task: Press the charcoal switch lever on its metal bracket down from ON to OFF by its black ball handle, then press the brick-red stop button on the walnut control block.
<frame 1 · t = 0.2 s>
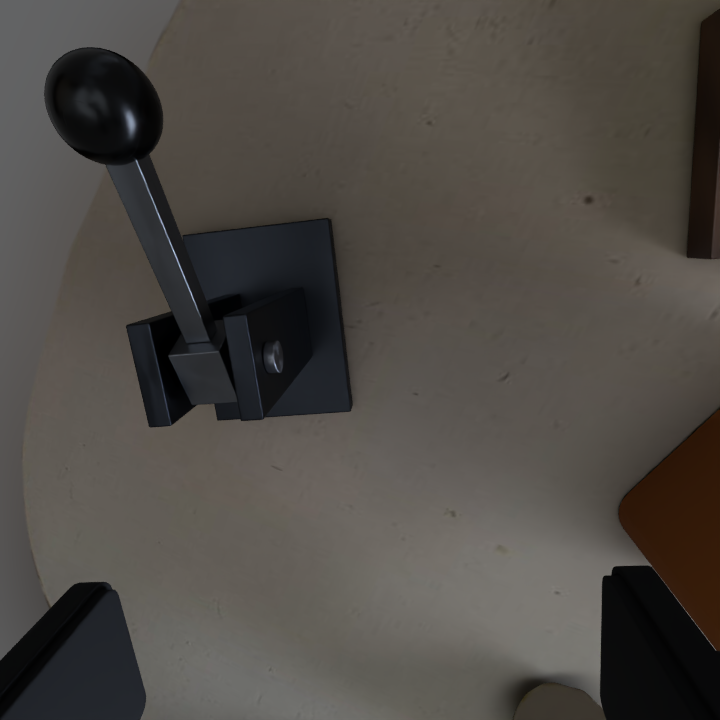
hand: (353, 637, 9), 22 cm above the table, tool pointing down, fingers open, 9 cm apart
switch lever: (168, 255, 17), point 12 cm above the table, hinge at 24.0°
switch bracket: (274, 323, 30), on the table
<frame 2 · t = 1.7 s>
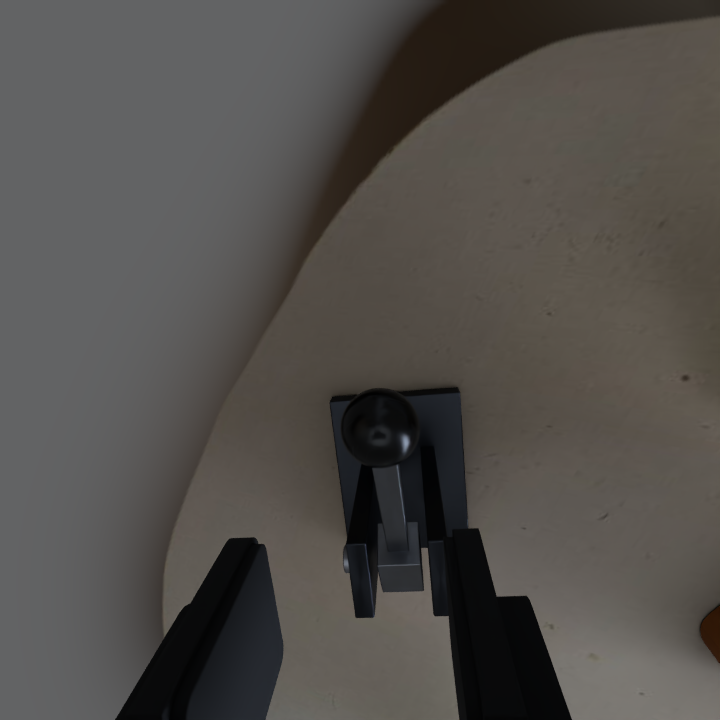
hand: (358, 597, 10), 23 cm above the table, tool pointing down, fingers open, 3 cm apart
switch lever: (391, 500, 22), point 12 cm above the table, hinge at 24.0°
switch bracket: (401, 468, 34), on the table
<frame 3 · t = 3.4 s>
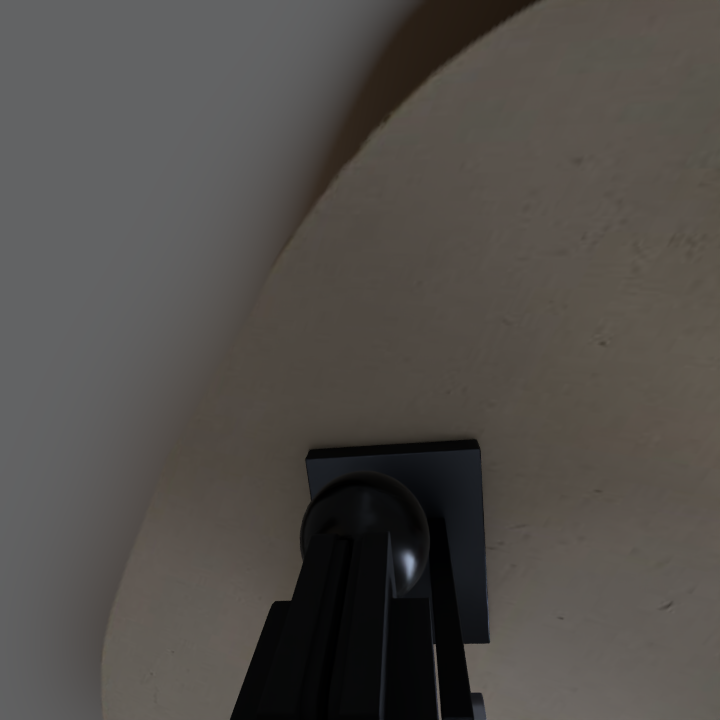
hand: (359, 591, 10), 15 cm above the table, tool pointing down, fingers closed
switch lever: (385, 641, 14), point 12 cm above the table, hinge at 17.2°
switch bracket: (401, 541, 26), on the table
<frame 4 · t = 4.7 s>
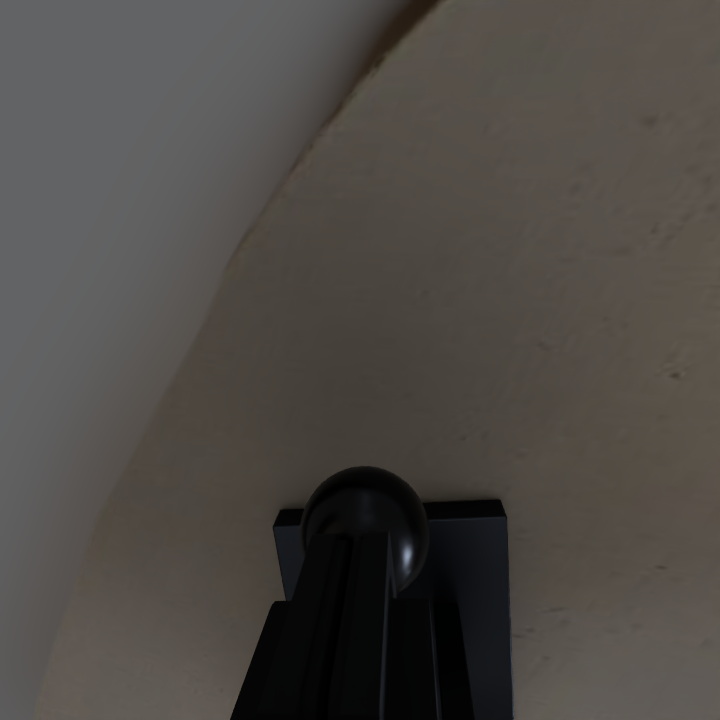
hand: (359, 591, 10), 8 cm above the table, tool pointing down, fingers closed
switch bracket: (400, 625, 20), on the table
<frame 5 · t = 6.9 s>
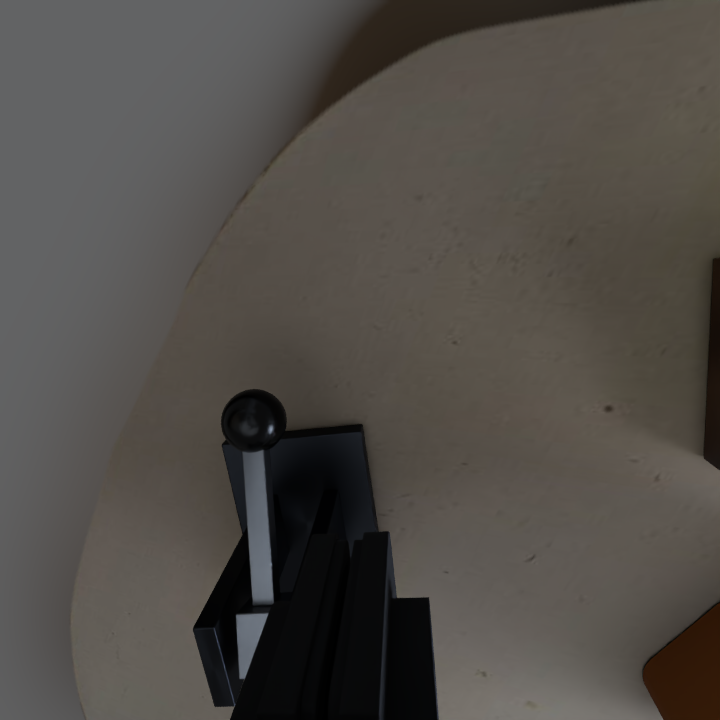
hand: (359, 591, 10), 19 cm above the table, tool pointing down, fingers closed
switch lever: (261, 522, 23), point 8 cm above the table, hinge at -21.7°
switch bracket: (309, 511, 32), on the table
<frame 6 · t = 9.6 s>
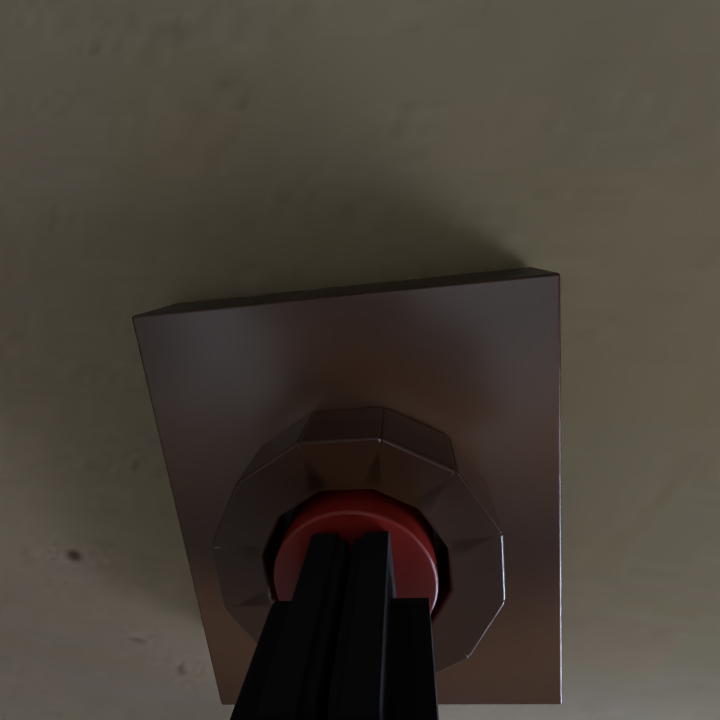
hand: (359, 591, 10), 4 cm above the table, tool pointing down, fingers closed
stop button: (358, 558, 11), point 3 cm above the table, slide at -0.9 cm, touching gripper
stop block: (368, 482, 14), on the table
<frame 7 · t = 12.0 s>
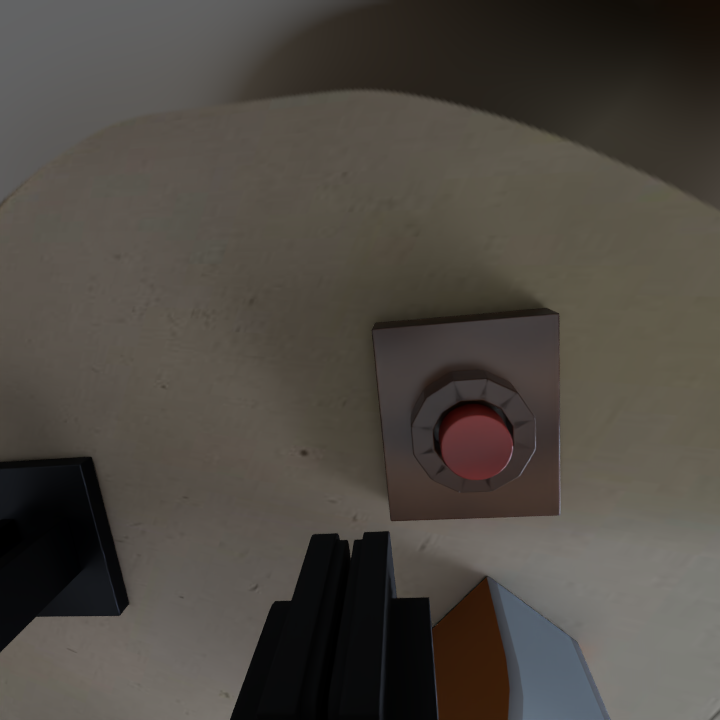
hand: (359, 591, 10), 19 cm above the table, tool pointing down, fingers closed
alarm clock: (462, 672, 33), on the table
stop button: (474, 441, 24), point 4 cm above the table, slide at 0.1 cm
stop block: (464, 411, 29), on the table
switch bracket: (54, 535, 34), on the table
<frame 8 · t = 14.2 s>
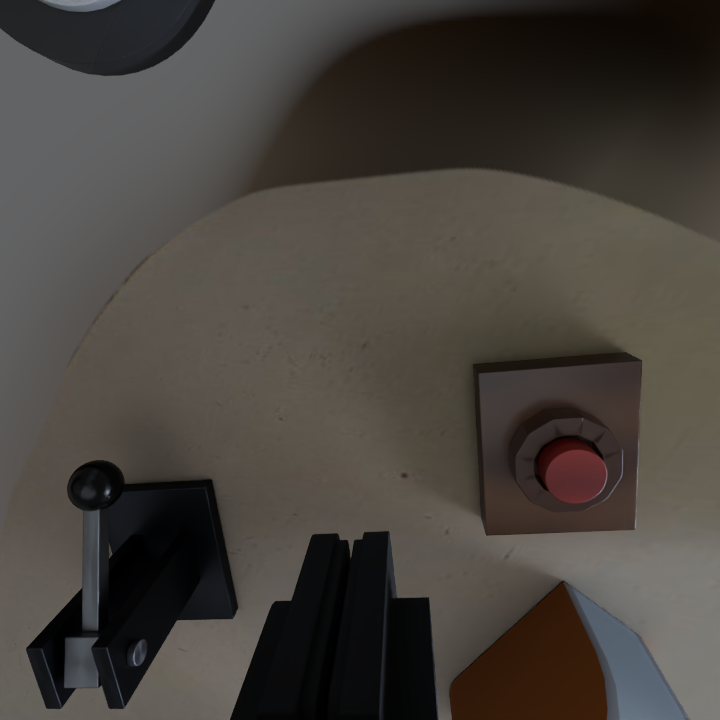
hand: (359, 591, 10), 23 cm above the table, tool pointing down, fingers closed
switch lever: (95, 565, 29), point 8 cm above the table, hinge at -21.7°
alarm clock: (537, 665, 38), on the table
stop button: (571, 470, 29), point 4 cm above the table, slide at 0.1 cm
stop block: (549, 440, 33), on the table
switch bracket: (173, 548, 38), on the table
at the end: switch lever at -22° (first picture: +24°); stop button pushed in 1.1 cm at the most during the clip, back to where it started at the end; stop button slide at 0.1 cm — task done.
